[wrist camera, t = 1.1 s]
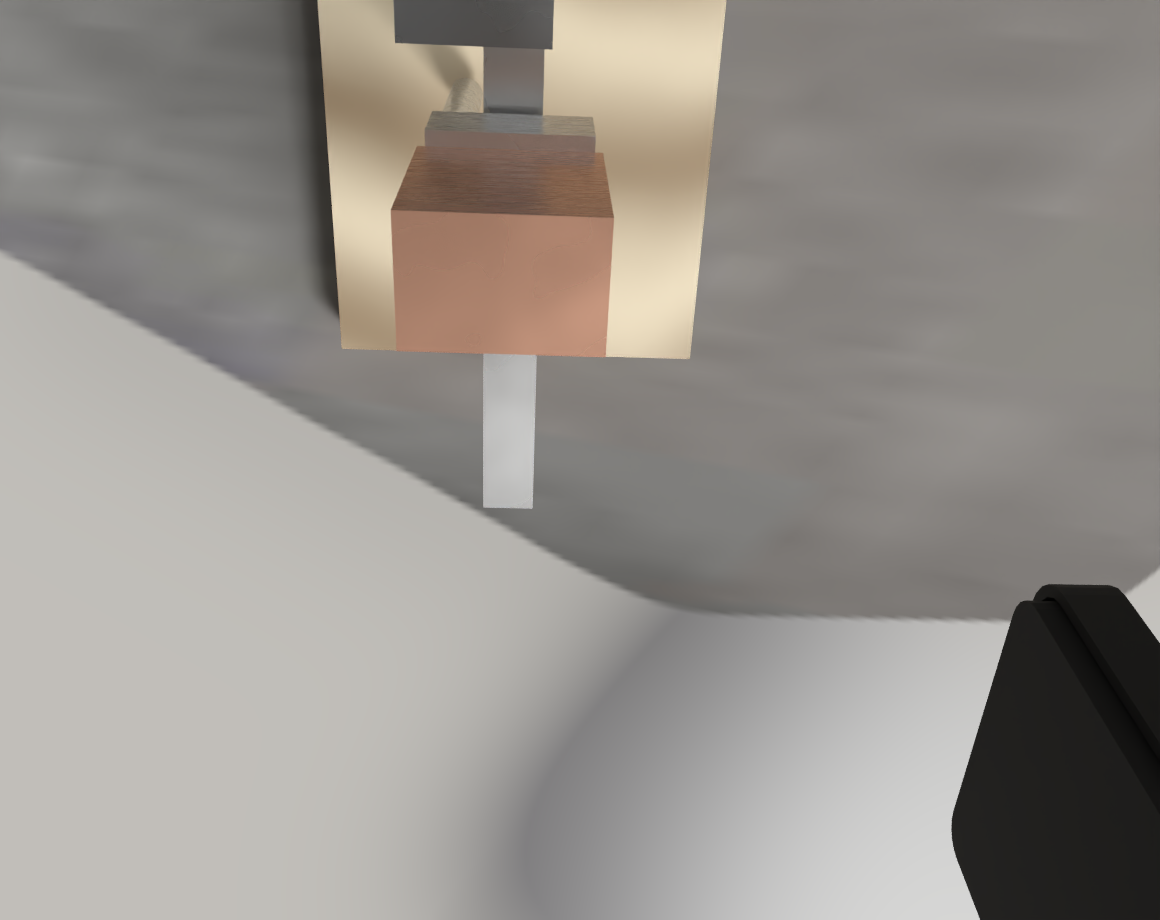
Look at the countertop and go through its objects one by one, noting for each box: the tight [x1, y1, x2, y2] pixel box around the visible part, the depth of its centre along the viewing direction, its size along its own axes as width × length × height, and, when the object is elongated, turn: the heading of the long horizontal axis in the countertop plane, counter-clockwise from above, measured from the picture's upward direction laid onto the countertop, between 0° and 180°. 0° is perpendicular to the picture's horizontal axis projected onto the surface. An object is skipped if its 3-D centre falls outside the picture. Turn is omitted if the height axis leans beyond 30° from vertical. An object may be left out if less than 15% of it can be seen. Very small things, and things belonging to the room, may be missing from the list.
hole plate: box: [318, 0, 726, 359], centre depth 32 cm, size 14×11×2 cm
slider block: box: [391, 78, 614, 357], centre depth 24 cm, size 3×4×14 cm
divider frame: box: [393, 0, 554, 508], centre depth 27 cm, size 13×3×9 cm, turn 177°
